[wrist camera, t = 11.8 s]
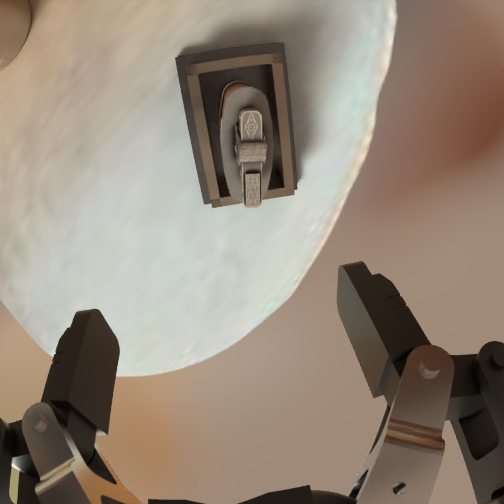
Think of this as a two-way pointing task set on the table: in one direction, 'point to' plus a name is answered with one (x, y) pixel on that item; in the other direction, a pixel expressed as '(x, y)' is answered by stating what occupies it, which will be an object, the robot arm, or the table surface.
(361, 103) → the table surface
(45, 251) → the table surface
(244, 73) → the rectangular tray
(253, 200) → the lighter
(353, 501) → the robot arm
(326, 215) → the table surface
